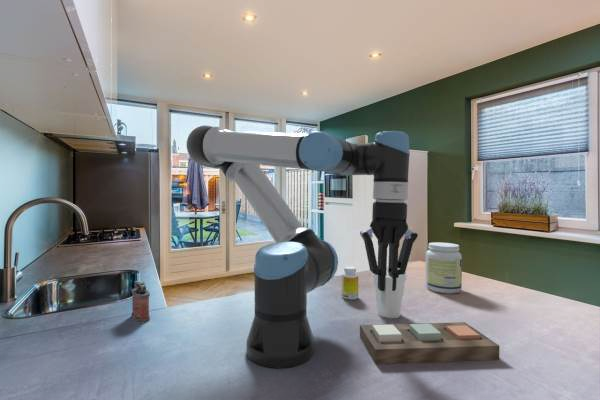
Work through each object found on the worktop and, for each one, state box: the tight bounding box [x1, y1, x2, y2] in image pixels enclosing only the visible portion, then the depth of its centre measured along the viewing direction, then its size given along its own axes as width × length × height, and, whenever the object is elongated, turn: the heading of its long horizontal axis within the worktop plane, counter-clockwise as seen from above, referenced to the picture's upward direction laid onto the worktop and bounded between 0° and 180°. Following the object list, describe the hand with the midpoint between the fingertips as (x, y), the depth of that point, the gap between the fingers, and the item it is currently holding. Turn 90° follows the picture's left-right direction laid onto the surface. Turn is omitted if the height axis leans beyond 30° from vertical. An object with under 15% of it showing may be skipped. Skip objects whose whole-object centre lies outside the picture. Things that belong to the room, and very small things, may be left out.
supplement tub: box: [425, 241, 463, 295], centre depth 114 cm, size 12×12×17 cm
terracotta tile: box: [446, 325, 480, 340], centre depth 71 cm, size 5×5×2 cm
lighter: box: [131, 280, 151, 324], centre depth 86 cm, size 8×3×10 cm, turn 47°
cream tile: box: [371, 324, 402, 342], centre depth 69 cm, size 5×5×2 cm
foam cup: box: [372, 265, 407, 319], centre depth 90 cm, size 10×9×13 cm
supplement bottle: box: [341, 265, 359, 300], centre depth 104 cm, size 6×6×10 cm
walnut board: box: [359, 321, 500, 365], centre depth 70 cm, size 27×12×3 cm, turn 94°
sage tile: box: [409, 323, 441, 341], centre depth 70 cm, size 5×5×2 cm
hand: (386, 304), depth 70 cm, fingers closed
